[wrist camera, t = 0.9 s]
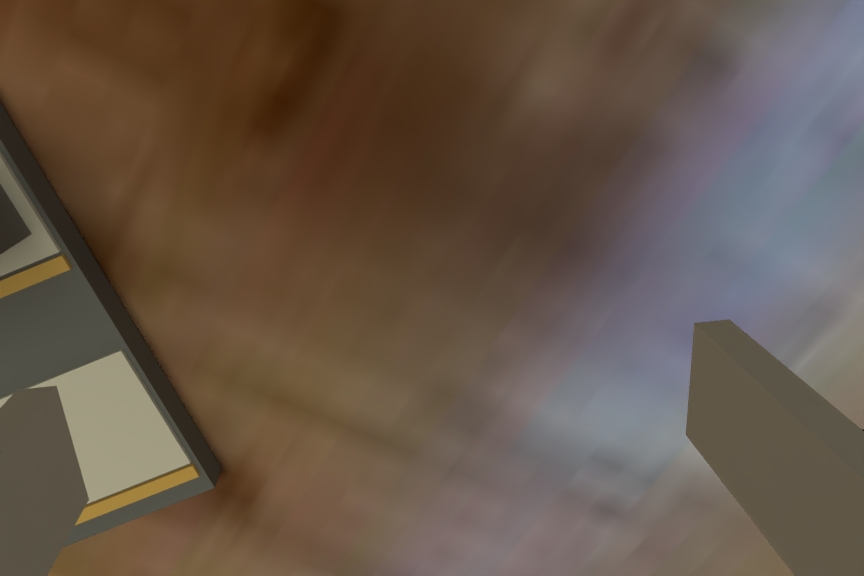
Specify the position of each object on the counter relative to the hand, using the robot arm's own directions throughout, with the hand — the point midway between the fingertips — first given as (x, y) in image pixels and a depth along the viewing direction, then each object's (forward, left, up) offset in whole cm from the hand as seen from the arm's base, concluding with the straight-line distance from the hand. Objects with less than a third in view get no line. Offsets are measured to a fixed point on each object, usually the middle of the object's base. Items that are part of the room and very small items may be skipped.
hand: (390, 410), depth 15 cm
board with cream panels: (+1, -21, -25) cm, 32 cm away
